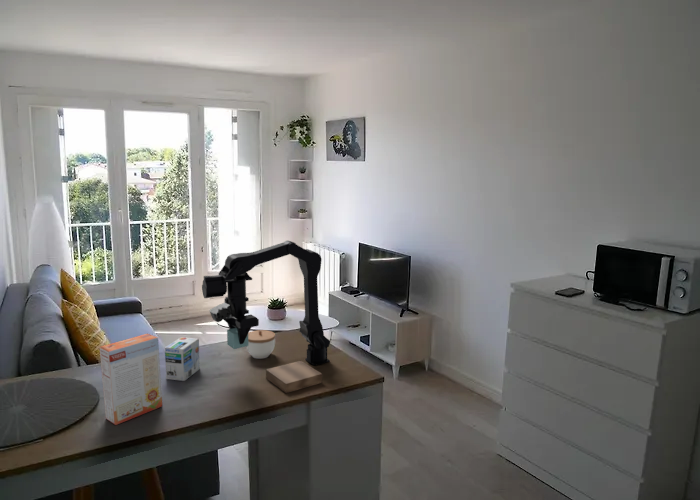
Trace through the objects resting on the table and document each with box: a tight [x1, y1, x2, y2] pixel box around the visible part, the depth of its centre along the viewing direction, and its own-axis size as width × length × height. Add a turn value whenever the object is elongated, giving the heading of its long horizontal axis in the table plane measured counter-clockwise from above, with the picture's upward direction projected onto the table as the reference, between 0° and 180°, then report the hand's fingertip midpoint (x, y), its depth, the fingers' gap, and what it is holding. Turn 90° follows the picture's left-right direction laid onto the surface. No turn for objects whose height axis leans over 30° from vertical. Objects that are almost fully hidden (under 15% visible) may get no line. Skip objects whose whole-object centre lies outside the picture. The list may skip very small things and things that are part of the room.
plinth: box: [265, 360, 323, 394], centre depth 165 cm, size 13×13×3 cm
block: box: [226, 328, 249, 350], centre depth 165 cm, size 5×5×5 cm
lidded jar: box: [246, 329, 276, 359], centre depth 185 cm, size 11×11×9 cm
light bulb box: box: [164, 336, 201, 382], centre depth 168 cm, size 11×7×11 cm, turn 168°
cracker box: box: [99, 333, 163, 426], centre depth 141 cm, size 14×6×21 cm, turn 140°
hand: (237, 341), depth 166 cm, fingers closed on block, 5 cm apart
